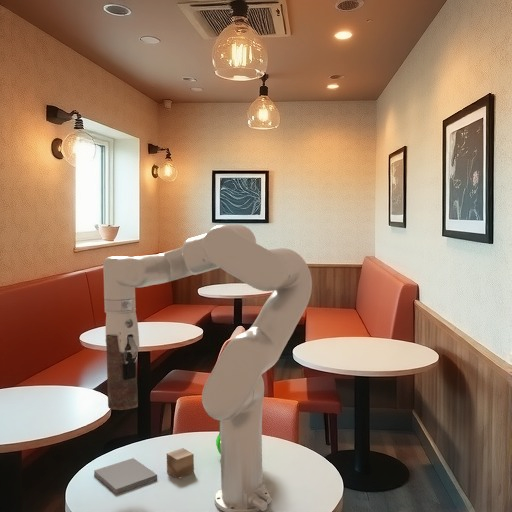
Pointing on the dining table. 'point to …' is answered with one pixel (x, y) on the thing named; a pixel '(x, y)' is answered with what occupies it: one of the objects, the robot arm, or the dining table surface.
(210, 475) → the dining table surface
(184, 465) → the walnut block
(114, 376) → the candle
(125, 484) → the slate board
